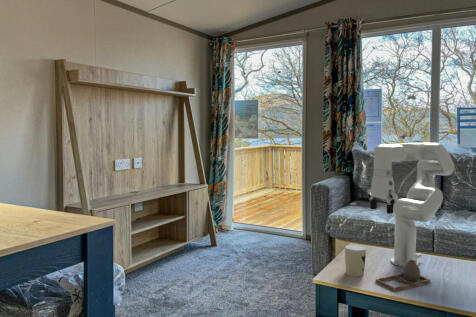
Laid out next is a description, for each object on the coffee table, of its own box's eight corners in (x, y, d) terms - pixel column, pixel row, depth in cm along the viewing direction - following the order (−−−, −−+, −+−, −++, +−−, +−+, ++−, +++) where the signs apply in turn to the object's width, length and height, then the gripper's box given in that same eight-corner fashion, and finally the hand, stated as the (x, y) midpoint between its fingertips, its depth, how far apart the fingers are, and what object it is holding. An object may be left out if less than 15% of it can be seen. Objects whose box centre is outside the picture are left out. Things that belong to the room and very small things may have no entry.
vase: (418, 285, 161) (419, 264, 161) (401, 281, 165) (401, 261, 164) (421, 279, 167) (421, 260, 166) (403, 276, 171) (404, 257, 170)
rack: (405, 272, 175) (405, 269, 175) (430, 283, 164) (430, 279, 163) (370, 280, 166) (370, 276, 166) (394, 291, 155) (394, 288, 155)
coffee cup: (366, 278, 169) (367, 251, 168) (344, 276, 171) (345, 249, 170) (364, 270, 178) (365, 244, 177) (343, 268, 180) (343, 243, 179)
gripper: (404, 175, 166) (403, 214, 167) (374, 171, 181) (373, 206, 183) (391, 175, 163) (390, 215, 164) (362, 171, 178) (361, 208, 180)
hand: (381, 211), depth 173 cm, fingers open, 9 cm apart
